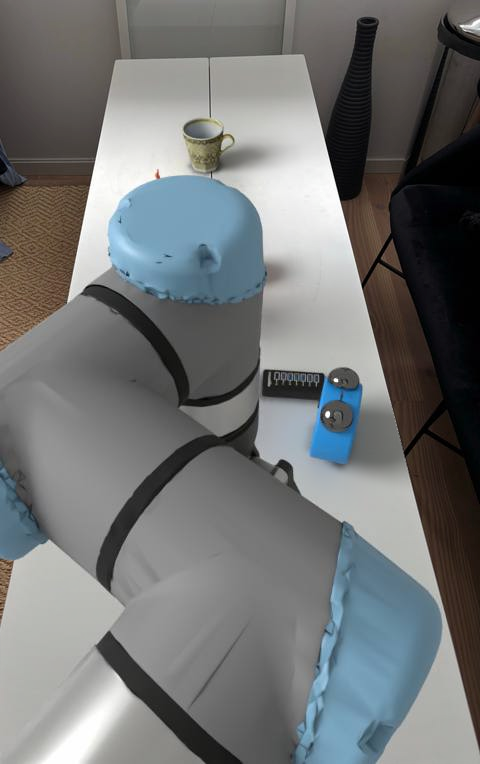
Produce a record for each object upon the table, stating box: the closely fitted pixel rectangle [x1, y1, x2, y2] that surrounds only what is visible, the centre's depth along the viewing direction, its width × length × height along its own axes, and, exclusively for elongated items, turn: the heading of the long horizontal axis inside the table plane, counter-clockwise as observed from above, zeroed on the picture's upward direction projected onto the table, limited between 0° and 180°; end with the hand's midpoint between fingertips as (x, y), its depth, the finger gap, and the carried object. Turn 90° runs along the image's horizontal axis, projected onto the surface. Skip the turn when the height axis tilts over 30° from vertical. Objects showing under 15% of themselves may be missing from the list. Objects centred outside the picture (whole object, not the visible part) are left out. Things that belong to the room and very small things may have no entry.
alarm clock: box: [309, 366, 364, 465], centre depth 86 cm, size 13×6×15 cm, turn 165°
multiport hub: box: [261, 368, 326, 401], centre depth 98 cm, size 4×11×2 cm, turn 85°
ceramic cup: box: [181, 116, 236, 174], centre depth 135 cm, size 13×10×10 cm
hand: (217, 514), depth 55 cm, fingers open, 13 cm apart
